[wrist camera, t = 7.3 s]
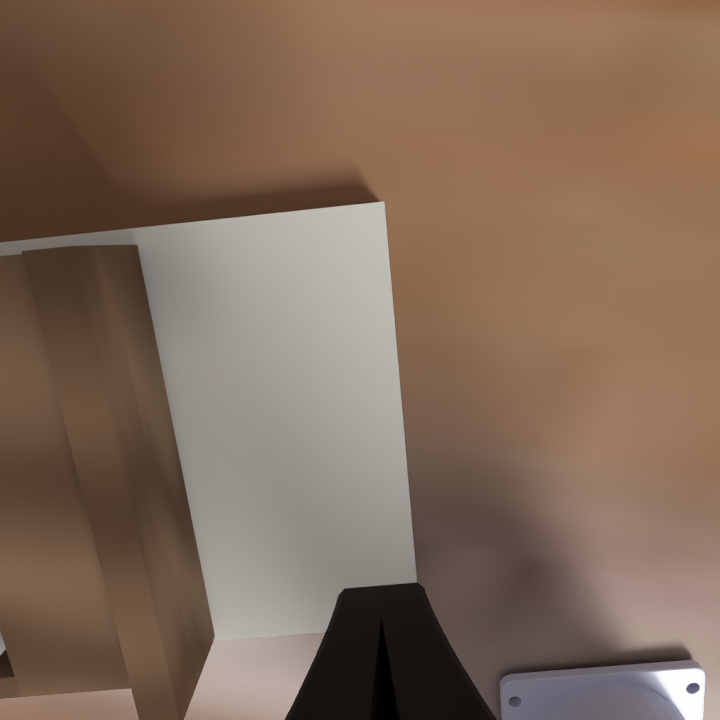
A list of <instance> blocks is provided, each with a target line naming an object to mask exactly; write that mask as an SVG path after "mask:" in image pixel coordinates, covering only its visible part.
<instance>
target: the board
mask: <svg viewBox="0 0 720 720" xmlns="http://www.w3.org/2000/svg"><path fill="white" fill-rule="evenodd" d="M89 245H137V246H138V251H139V256H140V261H141V267H142V272H143V277H144V282H145V287H146V292H147V297H148V302H149V307H150V312H151V317H152V322H153V327H154V332H155V337H156V342H157V347H158V352H159V357H160V362H161V367H162V372H163V377H164V382H165V387H166V392H167V397H168V402H169V407H170V412H171V417H172V422H173V427H174V433H175V438H176V443H177V448H178V453H179V458H180V463H181V468H182V473H183V478H184V483H185V488H186V493H187V498H188V503H189V508H190V513H191V518H192V523H193V528H194V533H195V538H196V543H197V548H198V553H199V558H200V563H201V568H202V573H203V578H204V583H205V588H206V593H207V599H208V604H209V609H210V614H211V619H212V624H213V629H214V634H215V637H214V640H213V642H215V641H228V640H240V639H252V638H264V637H277V636H289V635H301V634H313V633H326V630H327V628H328V625H329V622H330V620H331V617H332V614H333V611H334V608H335V605H336V602H337V598H338V595H339V594H340V593H341V592H342V591H343V590H344V588H356V587H368V586H380V585H392V584H404V583H416V582H417V575H416V563H415V552H414V540H413V529H412V517H411V506H410V494H409V483H408V471H407V459H406V448H405V436H404V425H403V413H402V402H401V390H400V379H399V367H398V355H397V344H396V332H395V321H394V309H393V298H392V286H391V274H390V263H389V251H388V240H387V228H386V217H385V205H384V202H375V203H366V204H356V205H347V206H337V207H328V208H319V209H309V210H300V211H290V212H281V213H272V214H262V215H253V216H244V217H234V218H225V219H215V220H206V221H197V222H187V223H178V224H168V225H159V226H150V227H140V228H131V229H121V230H112V231H103V232H93V233H84V234H75V235H65V236H56V237H46V238H37V239H28V240H18V241H9V242H0V256H6V255H16V254H22V251H28V250H37V249H46V248H56V247H65V246H89ZM5 649H6V647H5V644H4V641H3V638H2V635H1V631H0V655H1V654H2V653H3V652H4V650H5Z"/></svg>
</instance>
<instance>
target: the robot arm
mask: <svg viewBox="0 0 720 720" xmlns="http://www.w3.org/2000/svg"><path fill="white" fill-rule="evenodd" d="M705 679H706V675H705V671H704V670H703V669H702V667H701V666H700V665H699V664H698V662H696V661H694V660H682V661H670V662H657V663H644V664H631V665H619V666H606V667H593V668H580V669H567V670H555V671H542V672H529V673H516V674H509V675H506V676H505V677H503V678H502V680H501V681H500V704H501V720H703V708H704V693H705ZM511 697H516V698H513V699H512V698H511ZM285 720H497V719H496V718H495V716H494V715H493V713H492V712H491V710H490V709H489V707H488V706H487V704H486V703H485V701H484V700H483V698H482V697H481V695H480V693H479V692H478V690H477V688H476V687H475V685H474V684H473V682H472V680H471V679H470V677H469V676H468V674H467V672H466V671H465V669H464V667H463V666H462V664H461V663H460V661H459V659H458V657H457V656H456V654H455V652H454V650H453V649H452V647H451V645H450V643H449V641H448V640H447V638H446V636H445V634H444V632H443V630H442V628H441V626H440V624H439V622H438V620H437V618H436V616H435V614H434V612H433V610H432V608H431V605H430V603H429V600H428V598H427V595H426V592H425V589H424V588H423V587H422V586H421V585H420V584H419V583H417V582H416V583H404V584H392V585H380V586H368V587H356V588H344V590H343V591H342V592H341V593H340V594H339V595H338V598H337V602H336V605H335V608H334V611H333V614H332V617H331V620H330V622H329V625H328V628H327V630H326V633H325V635H324V637H323V640H322V642H321V645H320V647H319V649H318V652H317V654H316V656H315V659H314V661H313V663H312V665H311V667H310V669H309V671H308V673H307V676H306V678H305V680H304V682H303V684H302V686H301V688H300V690H299V693H298V695H297V697H296V699H295V701H294V703H293V705H292V707H291V709H290V711H289V713H288V714H287V716H286V718H285Z"/></svg>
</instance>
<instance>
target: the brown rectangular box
mask: <svg viewBox="0 0 720 720" xmlns="http://www.w3.org/2000/svg"><path fill="white" fill-rule="evenodd" d="M0 631H1V635H2V638H3V641H4V644H5V647H6V649H5V650H4V652H3V653H2V654H1V655H0V699H1V698H14V697H26V696H39V695H52V694H64V693H77V692H90V691H102V690H115V689H127V688H131V689H132V693H133V697H134V701H135V705H136V709H137V713H138V717H139V720H184V717H185V715H186V712H187V709H188V707H189V704H190V701H191V699H192V696H193V693H194V691H195V688H196V685H197V683H198V680H199V677H200V675H201V672H202V669H203V667H204V664H205V661H206V659H207V656H208V653H209V651H210V648H211V645H212V643H213V640H214V637H215V634H214V629H213V624H212V619H211V614H210V609H209V604H208V599H207V593H206V588H205V583H204V578H203V573H202V568H201V563H200V558H199V553H198V548H197V543H196V538H195V533H194V528H193V523H192V518H191V513H190V508H189V503H188V498H187V493H186V488H185V483H184V478H183V473H182V468H181V463H180V458H179V453H178V448H177V443H176V438H175V433H174V427H173V422H172V417H171V412H170V407H169V402H168V397H167V392H166V387H165V382H164V377H163V372H162V367H161V362H160V357H159V352H158V347H157V342H156V337H155V332H154V327H153V322H152V317H151V312H150V307H149V302H148V297H147V292H146V287H145V282H144V277H143V272H142V267H141V261H140V256H139V251H138V246H137V245H89V246H65V247H56V248H46V249H37V250H28V251H22V254H16V255H6V256H0Z"/></svg>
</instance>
